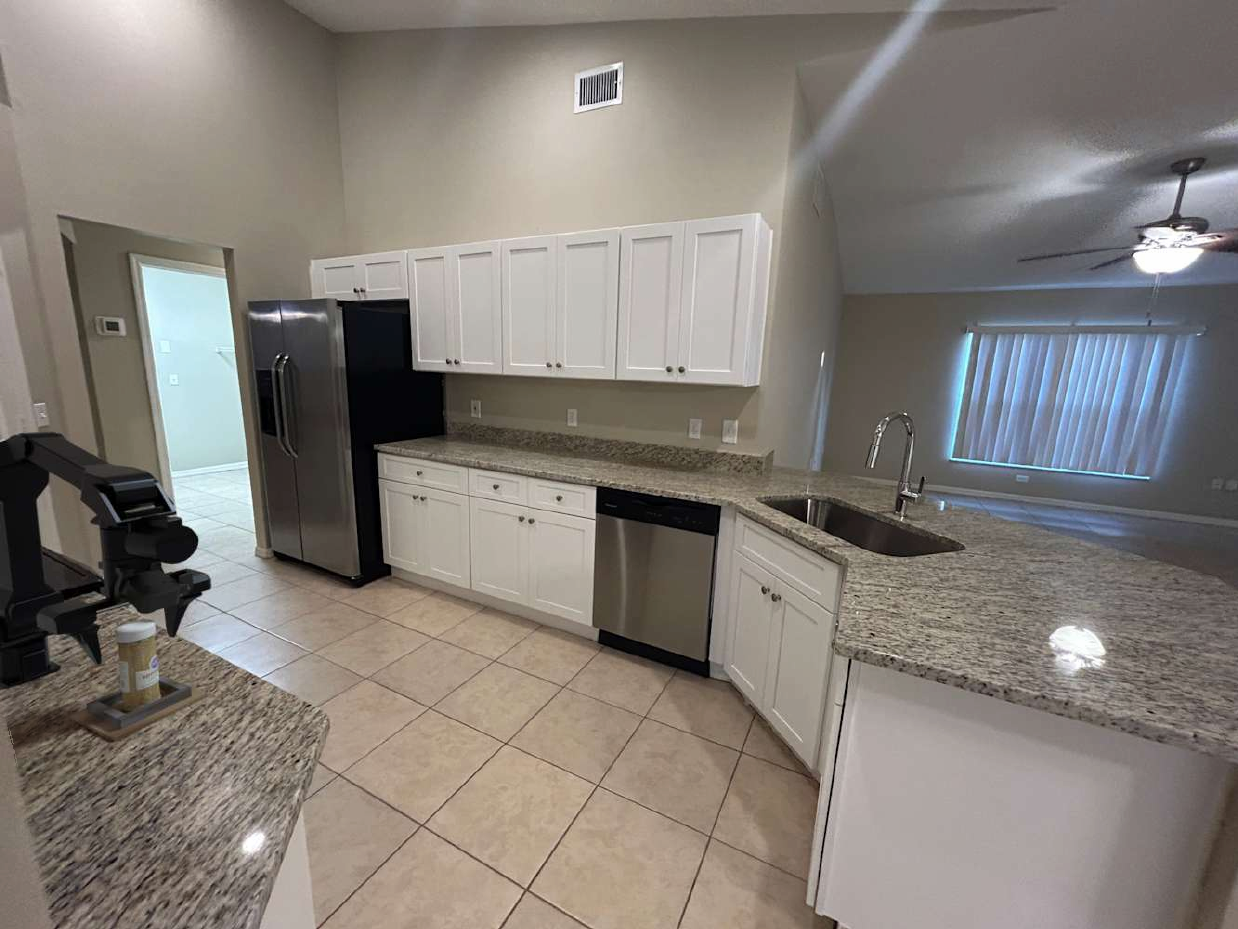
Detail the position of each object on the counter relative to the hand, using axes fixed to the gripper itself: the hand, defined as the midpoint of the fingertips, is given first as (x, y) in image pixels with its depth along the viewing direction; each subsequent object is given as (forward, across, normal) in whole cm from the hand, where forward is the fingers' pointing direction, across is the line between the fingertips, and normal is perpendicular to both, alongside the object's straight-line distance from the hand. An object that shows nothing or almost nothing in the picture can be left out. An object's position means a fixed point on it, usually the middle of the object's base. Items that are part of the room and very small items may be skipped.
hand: (137, 649), depth 77 cm
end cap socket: (+10, 0, 0) cm, 10 cm away
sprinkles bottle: (+10, 0, 0) cm, 10 cm away
